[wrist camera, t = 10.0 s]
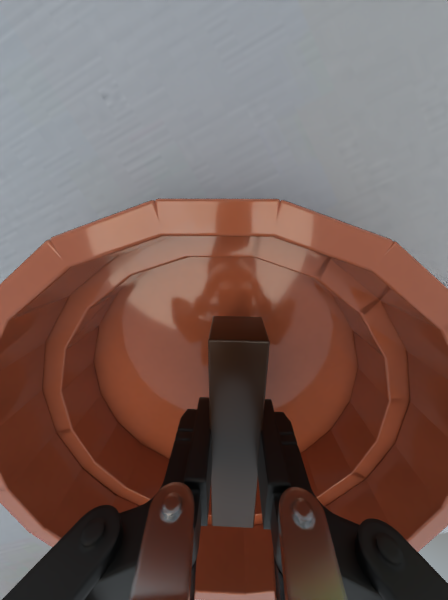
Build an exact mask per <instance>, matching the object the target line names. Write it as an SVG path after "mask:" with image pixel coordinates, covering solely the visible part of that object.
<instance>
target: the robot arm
mask: <svg viewBox="0 0 448 600" xmlns="http://www.w3.org/2000/svg"><path fill="white" fill-rule="evenodd" d="M257 472H258V481H259V491H260V501H261V510H262V520H263V529H269V530H271V535H272V543H273V553H272V563H273V579H274V594H275V600H448V583H447V582H446V581H445V580H444V579H443V578H442V577H441V576H440V575H439V574H438V573H437V572H436V571H435V570H434V569H433V568H432V567H431V566H430V565H429V563H428V562H427V561H426V560H425V559H424V558H423V557H422V556H421V555H420V554H419V553H418V552H417V551H416V550H415V549H414V548H413V547H412V546H411V545H410V544H409V542H408V541H407V540H406V539H405V538H404V537H403V536H402V535H401V534H400V533H399V532H398V531H397V530H395V529H394V528H393V527H392V526H390V525H389V524H387V523H385V522H383V521H381V520H378V519H374V518H369V519H366V520H364V521H362V523H361V524H360V525H359V524H356V523H354V522H352V521H349V520H347V519H345V518H342V517H340V516H338V515H336V514H334V513H332V512H331V511H329V510H328V509H327V508H325V507H324V506H323V505H322V504H321V503H320V501H319V500H318V499H317V498H316V496H315V495H314V493H313V491H312V489H311V486H310V483H309V480H308V476H307V473H306V470H305V467H304V463H303V460H302V457H301V453H300V450H299V447H298V445H297V440H296V437H295V435H294V430H293V427H292V424H291V421H290V420H289V419H288V417H287V416H286V415H285V413H284V412H274V408H273V404H272V400H271V399H265V404H264V416H263V427H262V431H261V434H260V446H259V459H258V471H257ZM211 475H212V446H211V429H210V422H209V397H200V398H199V402H198V407H197V409H187V410H186V412H185V413H184V414H183V416H182V417H181V418H180V422H179V426H178V431H177V433H176V437H175V441H174V444H173V448H172V452H171V456H170V459H169V463H168V467H167V471H166V474H165V478H164V481H163V484H162V486H161V488H160V489H159V491H158V492H157V493H156V494H155V496H154V497H153V498H152V499H150V500H149V501H148V502H146V503H145V504H143V505H141V506H138V507H135V508H132V509H130V510H127V511H124V512H121V513H119V512H118V510H117V509H116V508H115V507H113V506H111V505H101V506H98V507H95V508H93V509H92V510H90V511H89V512H87V513H86V514H85V515H84V516H83V517H82V518H80V519H79V521H78V522H77V523H76V524H75V525H74V526H73V527H72V528H71V529H70V530H69V531H68V532H67V533H66V534H65V535H64V536H63V537H62V538H61V539H60V540H59V541H58V542H57V543H56V544H55V545H54V546H53V547H52V548H51V550H50V551H49V552H48V553H47V554H46V555H45V556H44V557H43V558H42V559H41V560H40V561H39V562H38V563H37V564H36V565H35V566H34V567H33V568H32V569H31V570H30V571H29V572H28V573H27V574H26V575H25V576H24V577H23V579H22V580H21V581H20V582H19V583H18V584H17V585H16V586H15V587H14V588H13V589H12V590H11V591H10V592H9V593H8V594H7V595H6V596H5V597H4V598H3V599H2V600H195V593H196V572H197V554H198V549H199V539H200V530H201V526H207V524H208V512H209V500H210V487H211Z"/></svg>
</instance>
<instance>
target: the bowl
mask: <svg viewBox="0 0 448 600" xmlns="http://www.w3.org/2000/svg"><path fill="white" fill-rule="evenodd" d="M213 316H247V317H262V319H263V322H264V325H265V329H266V332H267V335H268V338H269V341H270V347H269V358H268V370H267V381H266V393H265V399H271V400H272V404H273V408H274V412H284V413H285V415H286V416H287V417H288V419H289V420H290V421H291V424H292V427H293V430H294V435H295V437H296V440H297V445H298V447H299V450H300V453H301V457H302V460H303V463H304V467H305V470H306V473H307V476H308V480H309V483H310V486H311V489H312V491H313V493H314V495H315V496H316V498H317V499H318V500H319V501H320V503H321V504H322V505H323V506H324V507H325V508H327V509H328V510H329V511H331V512H332V513H334V514H336V515H338V516H340V517H342V518H345V519H347V520H349V521H352V522H354V523H356V524H359V525H360V524H361V523H362V521H364V520H366V519H369V518H374V519H378V520H381V521H383V522H385V523H387V524H389V525H390V526H392V527H393V528H394V529H395V530H397V531H398V532H399V533H400V534H401V535H402V536H403V537H404V538H405V539H406V540H407V541H408V542H409V544H410V545H411V546H412V547H413V548H414V549H415V550H416V551H417V552H419V551H420V550H421V549H422V548H423V547H424V546H425V545H426V544H427V543H429V542H430V541H431V540H432V539H433V538H434V537H435V536H437V535H438V534H439V533H440V532H441V531H442V530H443V529H444V528H446V527H447V526H448V288H446V287H445V286H444V285H443V284H442V283H441V282H440V281H439V280H438V279H437V278H435V277H434V276H433V275H432V274H431V273H430V272H429V271H428V270H427V269H426V268H424V267H423V266H422V265H421V264H420V263H419V262H418V261H417V260H416V259H415V258H413V257H412V256H411V255H410V254H409V253H408V252H407V251H406V250H405V249H404V248H402V247H401V246H400V245H399V244H398V243H397V242H395V241H392V240H391V239H389V238H386V237H383V236H381V235H378V234H375V233H372V232H370V231H367V230H364V229H362V228H359V227H356V226H353V225H351V224H348V223H345V222H342V221H340V220H337V219H334V218H332V217H329V216H326V215H323V214H321V213H318V212H315V211H312V210H310V209H307V208H304V207H302V206H299V205H296V204H293V203H291V202H288V201H285V200H281V201H280V200H279V199H156V201H155V200H150V201H147V202H145V203H142V204H139V205H137V206H134V207H131V208H129V209H126V210H123V211H120V212H118V213H115V214H112V215H110V216H107V217H104V218H102V219H99V220H96V221H93V222H91V223H88V224H85V225H83V226H80V227H77V228H74V229H72V230H69V231H66V232H64V233H61V234H58V235H56V236H53V237H52V238H51V239H49V240H47V241H45V242H44V243H43V244H42V245H41V246H40V247H39V248H38V249H37V250H36V251H35V252H34V253H33V254H32V255H31V256H30V257H28V258H27V259H26V260H25V261H24V262H23V263H22V264H21V265H20V266H19V267H18V268H17V269H16V270H15V271H14V272H13V273H12V274H10V275H9V276H8V277H7V278H6V279H5V280H4V281H3V282H2V283H1V284H0V503H1V504H2V505H3V506H4V507H5V508H6V509H7V510H8V511H9V512H10V513H11V514H12V515H13V516H14V517H15V518H16V519H17V520H18V522H19V523H20V524H21V525H22V526H23V527H24V528H25V529H26V530H27V531H28V532H29V533H32V534H33V535H34V536H36V537H37V538H39V539H40V540H42V541H43V542H45V543H46V544H48V545H50V546H51V547H53V546H54V545H55V544H56V543H57V542H58V541H59V540H60V539H61V538H62V537H63V536H64V535H65V534H66V533H67V532H68V531H69V530H70V529H71V528H72V527H73V526H74V525H75V524H76V523H77V522H78V521H79V519H80V518H82V517H83V516H84V515H85V514H86V513H87V512H89V511H90V510H92V509H93V508H95V507H98V506H101V505H111V506H113V507H115V508H116V509H117V510H118V512H119V513H121V512H124V511H127V510H130V509H132V508H135V507H138V506H141V505H143V504H145V503H146V502H148V501H149V500H150V499H152V498H153V497H154V496H155V494H156V493H157V492H158V491H159V489H160V488H161V486H162V484H163V481H164V478H165V474H166V471H167V467H168V463H169V459H170V456H171V452H172V448H173V444H174V441H175V437H176V433H177V431H178V426H179V422H180V418H181V417H182V416H183V414H184V413H185V412H186V410H187V409H197V407H198V402H199V398H200V397H209V372H208V338H209V333H210V328H211V323H212V318H213ZM272 553H273V543H272V535H271V530H269V529H263V520H262V510H261V501H260V491H259V481H258V484H257V496H256V507H255V518H254V527H253V528H244V527H223V526H212V521H211V487H210V500H209V512H208V524H207V526H201V530H200V539H199V549H198V554H197V572H196V593H195V600H275V594H274V579H273V563H272Z"/></svg>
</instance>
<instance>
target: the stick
mask: <svg viewBox="0 0 448 600" xmlns="http://www.w3.org/2000/svg"><path fill="white" fill-rule="evenodd" d="M269 347H270V341H269V338H268V335H267V332H266V329H265V325H264V322H263V319H262V317H247V316H213V318H212V323H211V328H210V333H209V338H208V372H209V422H210V429H211V446H212V475H211V521H212V526H223V527H244V528H253V527H254V518H255V507H256V496H257V484H258V472H257V471H258V459H259V446H260V434H261V431H262V427H263V416H264V404H265V393H266V381H267V370H268V358H269Z"/></svg>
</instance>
